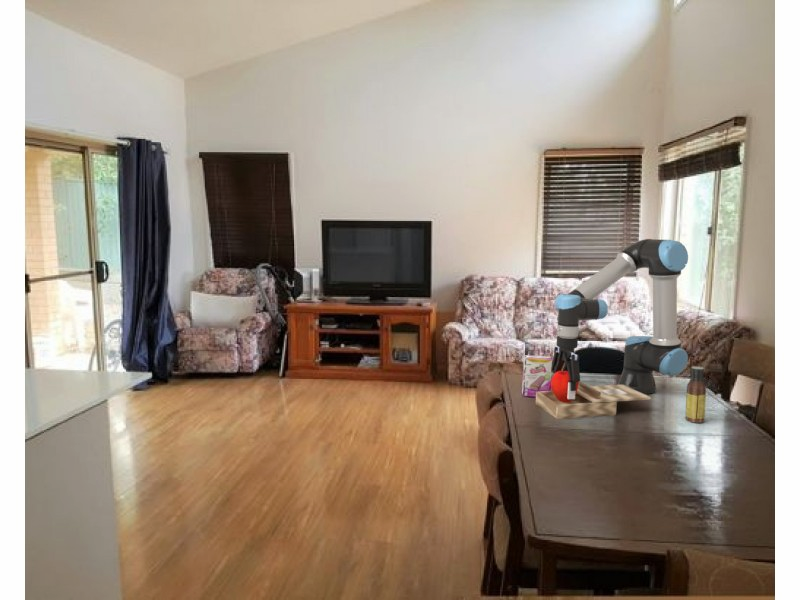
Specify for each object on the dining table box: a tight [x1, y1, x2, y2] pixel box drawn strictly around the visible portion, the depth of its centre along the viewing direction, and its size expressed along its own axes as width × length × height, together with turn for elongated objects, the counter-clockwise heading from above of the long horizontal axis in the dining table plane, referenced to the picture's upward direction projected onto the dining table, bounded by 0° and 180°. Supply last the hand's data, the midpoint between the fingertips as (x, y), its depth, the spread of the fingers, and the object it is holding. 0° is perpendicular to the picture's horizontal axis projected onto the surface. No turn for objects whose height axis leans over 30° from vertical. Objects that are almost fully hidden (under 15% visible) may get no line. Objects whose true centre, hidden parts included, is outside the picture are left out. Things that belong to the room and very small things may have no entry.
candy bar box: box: [521, 354, 553, 398], centre depth 233 cm, size 11×5×16 cm, turn 84°
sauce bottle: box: [684, 365, 707, 424], centre depth 207 cm, size 6×6×20 cm
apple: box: [551, 370, 578, 403], centre depth 216 cm, size 10×10×12 cm
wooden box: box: [535, 390, 618, 420], centre depth 218 cm, size 24×17×5 cm
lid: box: [576, 381, 651, 403], centre depth 221 cm, size 24×17×3 cm
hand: (563, 394), depth 217 cm, fingers closed on apple, 10 cm apart
